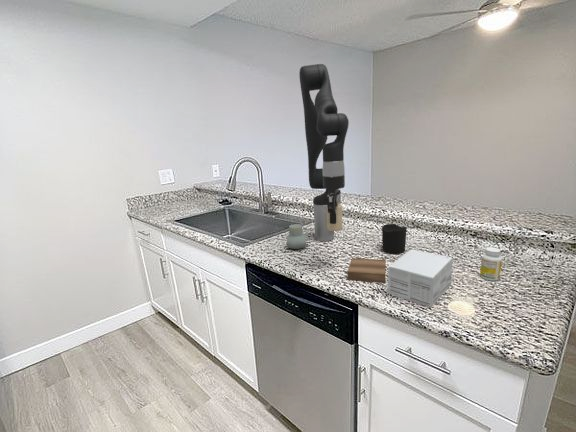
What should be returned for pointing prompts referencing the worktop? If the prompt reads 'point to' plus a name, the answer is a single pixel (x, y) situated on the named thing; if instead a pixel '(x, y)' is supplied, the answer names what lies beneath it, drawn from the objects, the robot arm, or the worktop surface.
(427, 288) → the supplement box
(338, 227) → the candle
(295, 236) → the air freshener
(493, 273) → the supplement bottle
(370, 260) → the walnut pedestal
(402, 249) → the pen holder
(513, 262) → the worktop surface
